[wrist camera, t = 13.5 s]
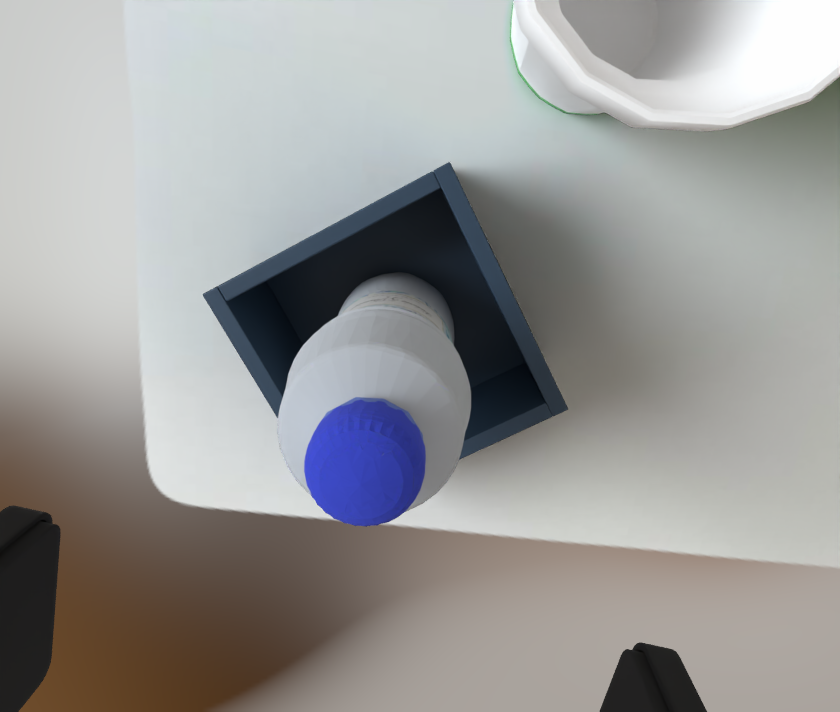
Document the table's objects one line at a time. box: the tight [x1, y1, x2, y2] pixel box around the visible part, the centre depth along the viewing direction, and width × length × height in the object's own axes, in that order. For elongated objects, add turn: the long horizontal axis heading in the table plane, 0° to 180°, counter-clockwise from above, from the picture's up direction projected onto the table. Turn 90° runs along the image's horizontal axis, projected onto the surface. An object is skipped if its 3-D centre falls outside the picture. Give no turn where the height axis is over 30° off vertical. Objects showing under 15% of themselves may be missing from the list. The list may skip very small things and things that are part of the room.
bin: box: [203, 162, 568, 459], centre depth 32 cm, size 13×13×8 cm
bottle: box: [278, 272, 471, 526], centre depth 26 cm, size 7×7×20 cm
